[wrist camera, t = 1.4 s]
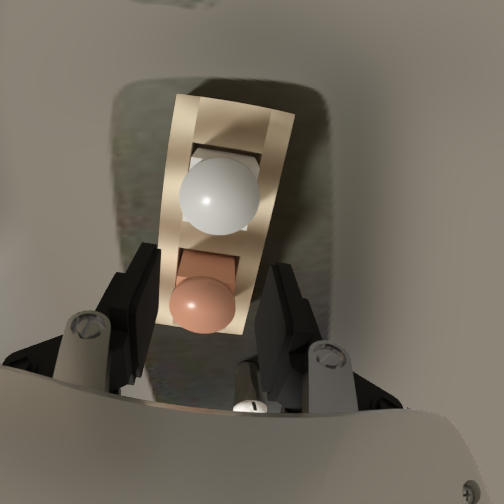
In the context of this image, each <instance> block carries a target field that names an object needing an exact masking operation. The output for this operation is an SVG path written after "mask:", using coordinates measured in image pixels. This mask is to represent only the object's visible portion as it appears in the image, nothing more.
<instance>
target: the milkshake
mask: <svg viewBox="0 0 504 504" xmlns="http://www.w3.org/2000/svg"><path fill="white" fill-rule="evenodd" d="M233 411H240V412H259V413H266V412H267V407H266V403H265V399H264V395H263V391H262V386H261V381H260V376H259V371H258V367H257V365H256V364H255V363H253V362H250V361H245V362H241V363H239V364H238V365H237V368H236V378H235V395H234V406H233Z"/></svg>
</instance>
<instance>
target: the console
mask: <svg viewBox="0 0 504 504" xmlns="http://www.w3.org/2000/svg"><path fill="white" fill-rule="evenodd" d="M294 117H295V114H291V113H287V112H283V111H278V110H274V109H269V108H264V107H260V106H254V105H249V104H244V103H238V102H232V101H226V100H220V99H213V98H206V97H199V96H191V95H182V94H177V97H176V102H175V108H174V114H173V120H172V126H171V132H170V139H169V146H168V153H167V160H166V168H165V177H164V185H163V195H162V205H161V215H160V227H159V241H158V249H161V267H160V287H159V309H158V314H157V318H156V322H155V323H159V324H165V325H171V326H178V327H182V326H180V325H179V324H178V323H177V322H176V321H174V319H173V317H172V315H171V313H170V309H169V302H170V298H171V294H172V291H173V289H174V288H175V287H176V280H177V273H178V270H179V266H180V262H181V259H182V255H183V251H184V249H188V250H195V251H202V252H209V253H215V254H222V255H229V256H234V264H235V288H234V293H233V295H234V297H235V307H236V311H235V316H234V318H233V320H232V321H231V323H230V324H229V325H228V326H227V327H226V328H224V329H222V330H220V331H217V332H222V333H231V334H240V335H242V333H243V329H244V325H245V321H246V317H247V313H248V309H249V305H250V301H251V297H252V293H253V289H254V285H255V281H256V277H257V272H258V268H259V264H260V260H261V256H262V252H263V248H264V244H265V240H266V236H267V231H268V227H269V223H270V219H271V215H272V211H273V206H274V202H275V198H276V194H277V190H278V185H279V181H280V177H281V173H282V169H283V164H284V160H285V156H286V152H287V147H288V143H289V139H290V134H291V130H292V126H293V122H294ZM197 148H205V149H212V150H218V151H224V152H230V153H236V154H242V155H248V156H253V157H255V159H256V161H257V163H258V165H259V168H260V170H259V175H258V179H257V183H258V187H259V191H260V202H259V207H258V210H257V212H256V214H255V216H254V218H253V219H252V220H251V221H250V223H249V224H248V226H247V231H245V230H239V231H237V232H234V233H231V234H227V235H212V234H208V233H205V232H202V231H200V230H198V229H197V228H195V227H194V226H193V225H192V224H190V222H186V221H182V220H183V212H182V210H181V207H180V202H179V192H180V187H181V184H182V181H183V180H184V178H185V176H186V174H187V173H188V172H189V168H190V161H191V157H192V155H193V154H194V152H195V151H196V150H197Z"/></svg>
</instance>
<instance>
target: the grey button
mask: <svg viewBox="0 0 504 504" xmlns="http://www.w3.org/2000/svg"><path fill="white" fill-rule="evenodd" d="M259 170H260V168H259V165H258V163H257V161H256V159H255V157H253V156H248V155H242V154H236V153H230V152H224V151H218V150H212V149H205V148H197V150H196V151H195V152H194V154H193V155H192V157H191V161H190V168H189V172H188V173H187V174H186V176H185V178H184V180H183V181H182V184H181V187H180V192H179V202H180V207H181V210H182V212H183V220H182V221H186V222H190V224H192V225H193V226H194V227H195V228H197V229H198V230H200V231H202V232H205V233H208V234H212V235H227V234H231V233H234V232H237V231H239V230H245V231H247V226H248V224H249V223H250V221H251V220H252V219H253V218H254V216H255V214H256V212H257V210H258V207H259V202H260V191H259V187H258V183H257V179H258V175H259Z"/></svg>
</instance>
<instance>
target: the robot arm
mask: <svg viewBox="0 0 504 504" xmlns="http://www.w3.org/2000/svg"><path fill="white" fill-rule="evenodd" d="M160 267H161V249H158V248H157V245H156V244H150V243H143V242H142V243H141V245H140V247H139V249H138V251H137V252H136V254H135V256H134V258H133V260H132V262H131V263H130V265H129V267H128V269H127V271H126V273H120V272H116V274H115V275H114V277H113V279H112V280H111V282H110V284H109V286H108V288H107V289H106V291H105V293H104V295H103V297H102V299H101V301H100V302H99V304H98V306H97V308H96V310H95V311H92V310H89V311H82V312H78V313H76V314H75V315H73V316H71V318H69V320H68V322H67V323H66V327H65V330H64V334H63V335H61V336H58V337H55V338H52V339H50V340H47V341H44V342H41V343H39V344H36V345H33V346H30V347H28V348H25V349H22V350H19V351H17V352H14V353H12V354H11V355H9V356H8V357H7V358H6V359H5V361H4V362H3V364H0V504H493V503H492V500H491V497H490V494H489V491H488V489H487V486H486V483H485V481H484V478H483V476H482V473H481V471H480V469H479V466H478V465H477V462H476V460H475V458H474V456H473V453H472V452H471V450H470V448H469V446H468V444H467V443H466V441H465V439H464V437H463V436H462V434H461V432H460V431H459V429H458V428H457V427H456V426H455V424H454V423H453V422H451V421H450V420H449V419H448V418H446V417H444V416H442V415H439V414H436V413H433V412H428V411H424V410H414V409H410V408H407V409H403V406H402V404H401V403H400V402H399V400H398V399H396V398H395V397H394V396H392V395H391V394H389V393H387V392H386V391H384V390H382V389H381V388H379V387H377V386H375V385H374V384H372V383H371V382H369V381H367V380H366V379H364V378H363V377H361V376H359V375H358V374H356V373H354V372H353V371H352V364H351V359H350V356H349V354H348V353H347V351H346V350H345V349H344V348H342V347H341V346H340V345H338V344H336V343H334V342H330V341H323V340H322V337H321V334H320V332H319V329H318V326H317V323H316V320H315V317H314V315H313V312H312V309H311V306H310V304H309V301H308V299H306V298H302V296H301V293H300V290H299V287H298V284H297V281H296V278H295V275H294V273H293V270H292V267H291V265H290V264H286V263H279V262H276V263H275V265H270V267H269V270H268V273H267V277H266V281H265V285H264V288H263V292H262V296H261V300H260V303H259V307H258V311H257V314H256V318H255V335H256V343H257V352H258V361H259V369H260V378H261V386H262V391H263V392H267V397H268V401H277V402H279V403H280V404H281V405H282V407H281V413H259V412H240V411H226V410H214V409H204V408H195V407H187V406H179V405H172V404H166V403H159V402H153V401H147V400H141V399H136V398H131V397H126V396H121V390H120V388H121V387H123V386H125V385H127V384H129V385H134V383H135V379H136V377H139V378H140V377H141V376H142V372H143V368H144V364H145V360H146V356H147V352H148V348H149V344H150V340H151V336H152V333H153V329H154V325H155V322H156V318H157V314H158V309H159V287H160Z"/></svg>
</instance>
